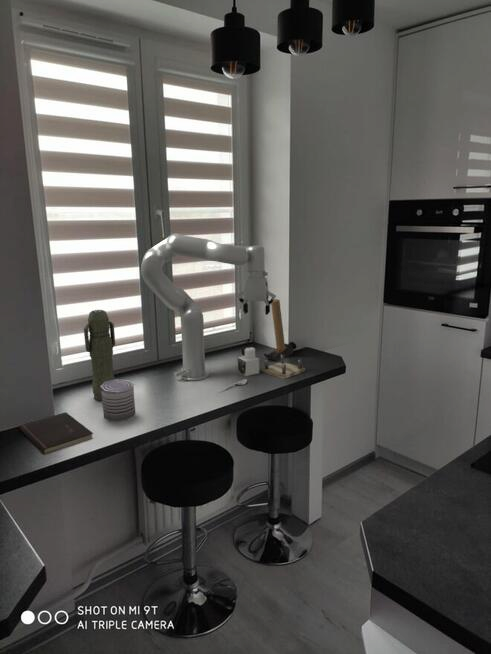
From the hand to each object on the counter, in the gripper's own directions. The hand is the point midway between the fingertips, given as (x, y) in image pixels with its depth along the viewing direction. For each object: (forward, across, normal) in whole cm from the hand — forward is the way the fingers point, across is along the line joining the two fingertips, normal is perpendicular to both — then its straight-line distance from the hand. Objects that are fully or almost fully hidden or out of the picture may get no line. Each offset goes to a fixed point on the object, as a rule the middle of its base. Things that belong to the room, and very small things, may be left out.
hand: (256, 313), depth 215 cm
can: (+27, +34, +59) cm, 74 cm away
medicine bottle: (+27, +4, +2) cm, 28 cm away
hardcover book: (+27, +47, +78) cm, 95 cm away
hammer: (+28, -4, -26) cm, 38 cm away
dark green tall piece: (+27, +50, +45) cm, 72 cm away
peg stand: (+27, -11, -4) cm, 29 cm away
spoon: (+28, +6, +22) cm, 36 cm away
